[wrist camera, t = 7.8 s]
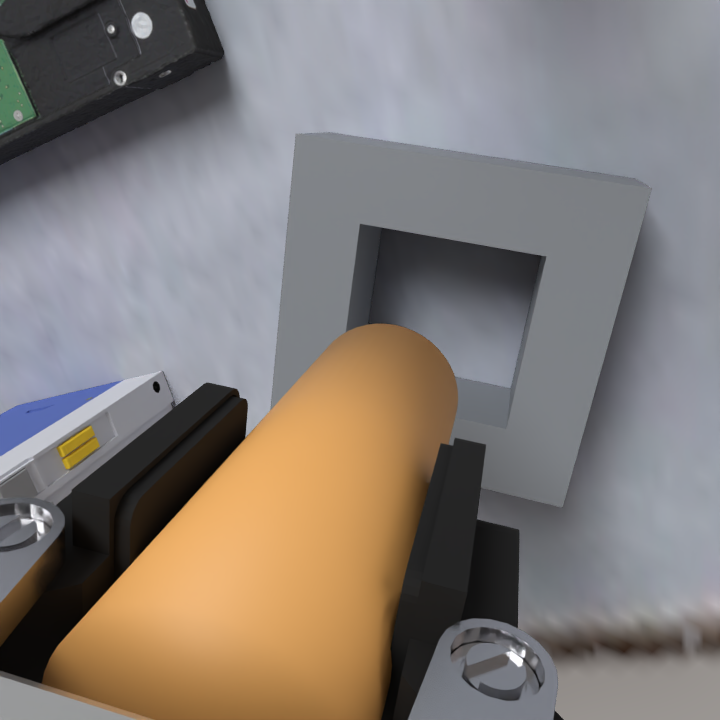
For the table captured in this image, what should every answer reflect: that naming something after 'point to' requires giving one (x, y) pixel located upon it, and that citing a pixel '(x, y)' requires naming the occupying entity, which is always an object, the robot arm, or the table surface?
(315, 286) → the socket block
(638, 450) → the table surface
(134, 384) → the walkman
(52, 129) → the disk drive
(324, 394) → the pin
